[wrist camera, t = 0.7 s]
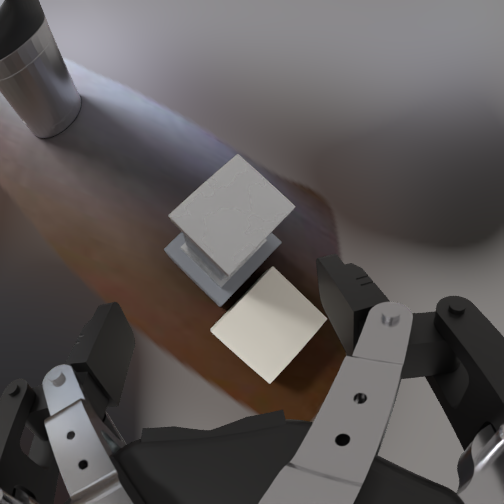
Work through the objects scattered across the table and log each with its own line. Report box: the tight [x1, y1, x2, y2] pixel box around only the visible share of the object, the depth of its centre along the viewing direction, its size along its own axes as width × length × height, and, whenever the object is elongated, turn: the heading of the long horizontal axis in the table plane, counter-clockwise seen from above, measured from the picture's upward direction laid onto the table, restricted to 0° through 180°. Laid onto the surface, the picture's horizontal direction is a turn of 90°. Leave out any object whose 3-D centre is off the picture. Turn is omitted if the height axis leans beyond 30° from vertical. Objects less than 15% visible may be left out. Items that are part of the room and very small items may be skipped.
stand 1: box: [164, 232, 282, 307], centre depth 32 cm, size 8×9×4 cm
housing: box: [168, 154, 295, 288], centre depth 25 cm, size 6×6×11 cm
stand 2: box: [211, 266, 327, 384], centre depth 32 cm, size 8×9×4 cm
